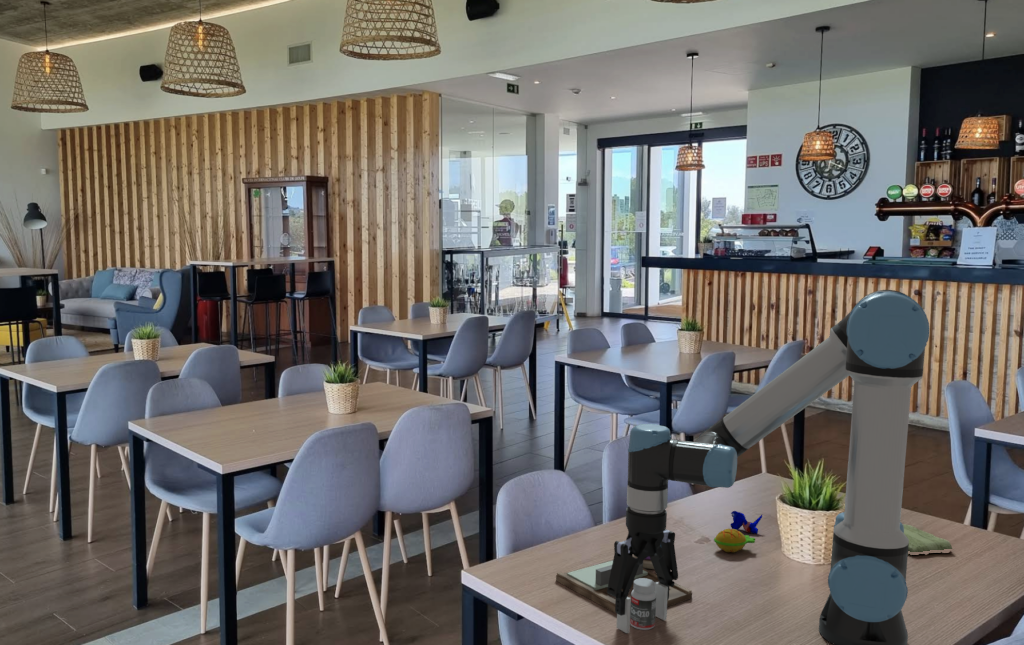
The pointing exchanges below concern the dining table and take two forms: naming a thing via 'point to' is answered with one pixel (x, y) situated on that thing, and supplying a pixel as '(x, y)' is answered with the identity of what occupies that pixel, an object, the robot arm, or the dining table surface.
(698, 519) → the dining table surface
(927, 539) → the washcloth
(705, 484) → the robot arm
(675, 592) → the wooden frame
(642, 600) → the pill bottle
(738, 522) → the figurine
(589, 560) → the dining table surface
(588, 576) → the lid
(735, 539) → the toy pineapple
